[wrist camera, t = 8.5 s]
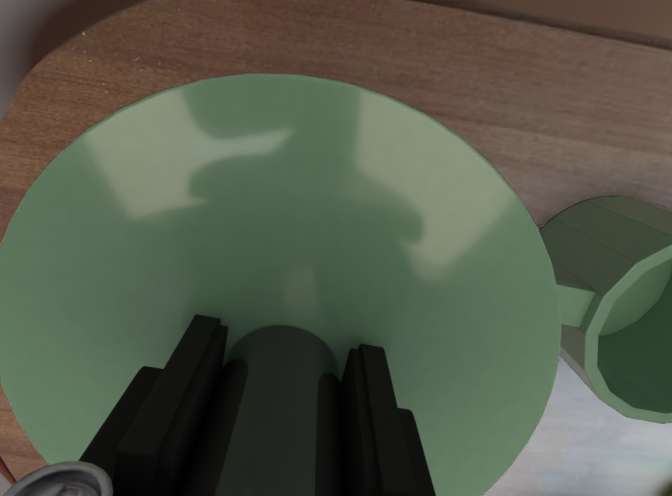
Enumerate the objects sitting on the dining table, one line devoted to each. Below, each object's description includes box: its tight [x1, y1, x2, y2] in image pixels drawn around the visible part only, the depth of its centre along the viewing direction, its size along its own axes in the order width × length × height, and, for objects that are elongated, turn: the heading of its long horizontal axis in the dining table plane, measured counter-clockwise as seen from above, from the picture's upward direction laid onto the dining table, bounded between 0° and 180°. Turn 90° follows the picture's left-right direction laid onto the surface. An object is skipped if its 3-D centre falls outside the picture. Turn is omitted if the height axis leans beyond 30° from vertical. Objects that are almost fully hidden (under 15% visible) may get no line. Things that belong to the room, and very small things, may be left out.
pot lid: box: [0, 73, 561, 496], centre depth 9 cm, size 14×14×6 cm
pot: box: [539, 196, 672, 424], centre depth 30 cm, size 13×18×10 cm
